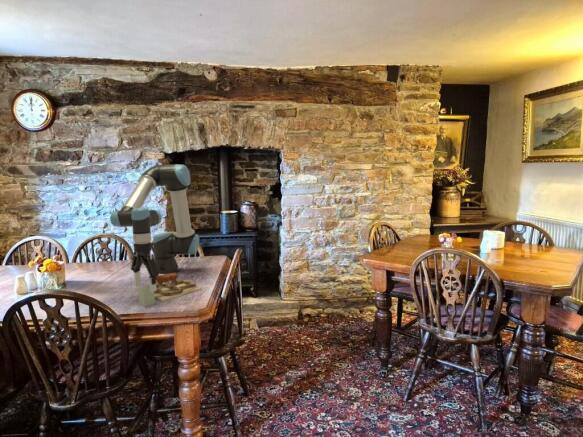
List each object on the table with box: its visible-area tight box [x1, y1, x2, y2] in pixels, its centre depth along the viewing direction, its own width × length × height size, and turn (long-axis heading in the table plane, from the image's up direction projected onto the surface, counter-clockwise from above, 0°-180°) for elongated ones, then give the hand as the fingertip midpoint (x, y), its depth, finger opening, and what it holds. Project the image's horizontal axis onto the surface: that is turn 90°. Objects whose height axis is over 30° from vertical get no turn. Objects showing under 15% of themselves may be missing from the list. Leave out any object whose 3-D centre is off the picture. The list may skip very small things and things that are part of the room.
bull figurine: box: [156, 272, 179, 290], centre depth 194 cm, size 4×13×8 cm, turn 112°
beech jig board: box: [154, 279, 203, 302], centre depth 197 cm, size 20×22×2 cm
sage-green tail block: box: [137, 284, 156, 307], centre depth 179 cm, size 5×5×8 cm
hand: (145, 288), depth 178 cm, fingers open, 13 cm apart
